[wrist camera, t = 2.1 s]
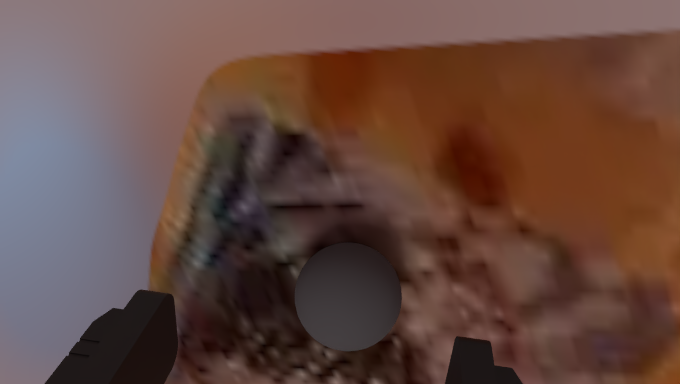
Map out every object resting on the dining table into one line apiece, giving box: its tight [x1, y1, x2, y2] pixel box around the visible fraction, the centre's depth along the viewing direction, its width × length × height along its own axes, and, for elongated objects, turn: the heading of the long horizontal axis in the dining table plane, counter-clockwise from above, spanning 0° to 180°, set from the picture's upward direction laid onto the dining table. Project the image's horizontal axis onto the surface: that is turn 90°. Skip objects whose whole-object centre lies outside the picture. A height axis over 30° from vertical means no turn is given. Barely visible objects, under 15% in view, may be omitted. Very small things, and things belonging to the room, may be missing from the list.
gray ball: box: [295, 242, 402, 351], centre depth 29 cm, size 6×6×6 cm
